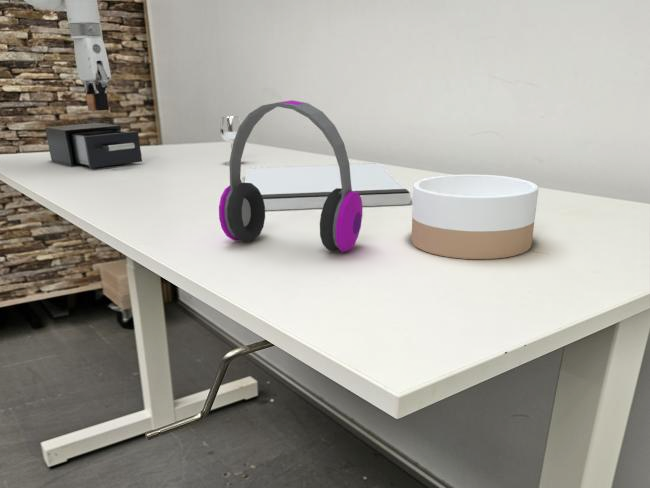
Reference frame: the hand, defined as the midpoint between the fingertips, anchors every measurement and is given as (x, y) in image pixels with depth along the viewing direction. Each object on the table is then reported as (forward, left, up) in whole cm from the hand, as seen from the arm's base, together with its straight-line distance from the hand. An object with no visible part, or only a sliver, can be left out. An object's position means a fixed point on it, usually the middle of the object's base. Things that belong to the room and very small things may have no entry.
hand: (98, 108), depth 158 cm
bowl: (+3, -114, -15) cm, 115 cm away
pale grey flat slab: (+15, -68, -15) cm, 72 cm away
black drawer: (0, -1, -14) cm, 14 cm away
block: (0, 0, 0) cm, 0 cm away
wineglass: (+24, -24, -15) cm, 38 cm away
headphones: (-16, -96, -15) cm, 99 cm away
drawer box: (0, +14, -15) cm, 20 cm away
